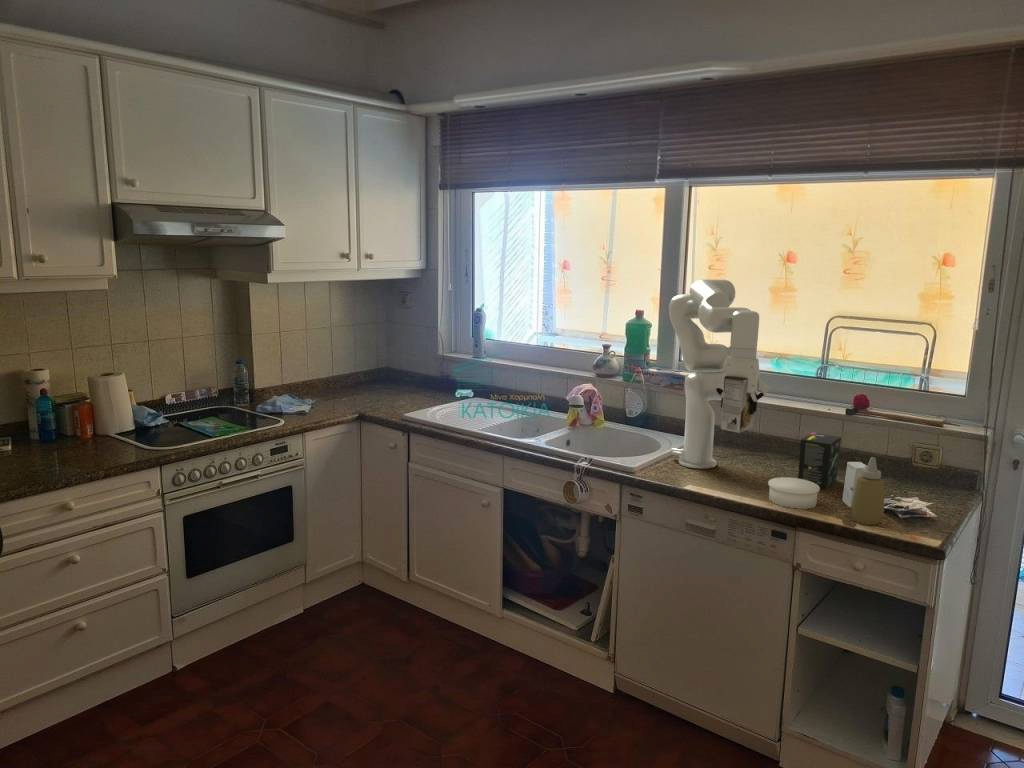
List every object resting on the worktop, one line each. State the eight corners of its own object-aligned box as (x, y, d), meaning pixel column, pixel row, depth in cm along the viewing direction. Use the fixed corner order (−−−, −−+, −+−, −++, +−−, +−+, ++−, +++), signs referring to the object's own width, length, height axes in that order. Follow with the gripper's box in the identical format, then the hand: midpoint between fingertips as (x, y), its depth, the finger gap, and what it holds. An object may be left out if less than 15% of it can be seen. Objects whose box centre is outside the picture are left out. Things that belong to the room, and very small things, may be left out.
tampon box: (807, 475, 243) (811, 431, 240) (837, 481, 237) (841, 436, 234) (796, 483, 234) (800, 438, 231) (826, 489, 228) (830, 443, 226)
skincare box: (841, 501, 218) (845, 461, 216) (856, 501, 218) (861, 461, 216) (850, 508, 212) (854, 467, 210) (866, 508, 212) (870, 467, 210)
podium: (763, 504, 215) (764, 487, 214) (771, 490, 227) (772, 474, 226) (814, 512, 208) (816, 495, 207) (820, 498, 220) (822, 482, 219)
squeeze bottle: (887, 522, 202) (894, 458, 199) (875, 529, 197) (883, 464, 193) (856, 514, 208) (863, 451, 204) (844, 521, 202) (851, 457, 199)
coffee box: (734, 423, 228) (738, 371, 224) (754, 427, 223) (758, 374, 220) (719, 429, 221) (723, 375, 218) (739, 433, 217) (744, 378, 214)
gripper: (709, 352, 218) (705, 410, 222) (771, 357, 210) (766, 418, 214) (716, 348, 225) (712, 406, 228) (776, 354, 217) (771, 413, 220)
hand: (738, 411), depth 221 cm, fingers closed on coffee box, 7 cm apart
